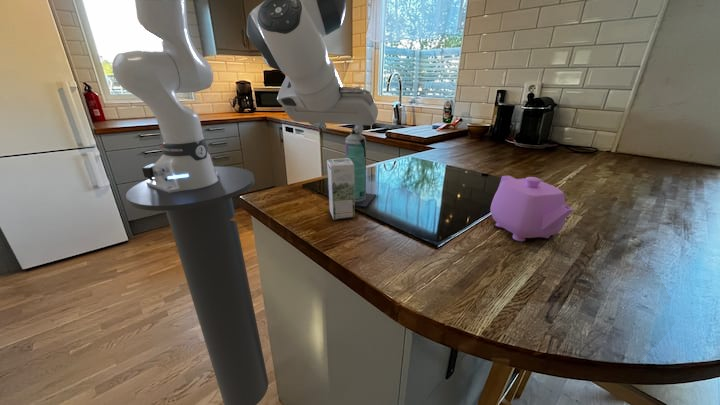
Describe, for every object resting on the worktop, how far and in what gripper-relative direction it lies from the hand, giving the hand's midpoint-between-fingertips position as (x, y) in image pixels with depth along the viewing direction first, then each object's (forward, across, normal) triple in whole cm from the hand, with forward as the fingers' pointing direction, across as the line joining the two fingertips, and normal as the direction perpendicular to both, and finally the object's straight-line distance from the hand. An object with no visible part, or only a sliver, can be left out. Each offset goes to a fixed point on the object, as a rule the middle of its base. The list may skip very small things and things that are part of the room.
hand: (340, 130), depth 70 cm
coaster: (+22, 0, +9) cm, 24 cm away
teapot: (+19, -43, +12) cm, 48 cm away
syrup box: (+15, 0, +16) cm, 22 cm away
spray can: (+22, 0, +8) cm, 23 cm away
